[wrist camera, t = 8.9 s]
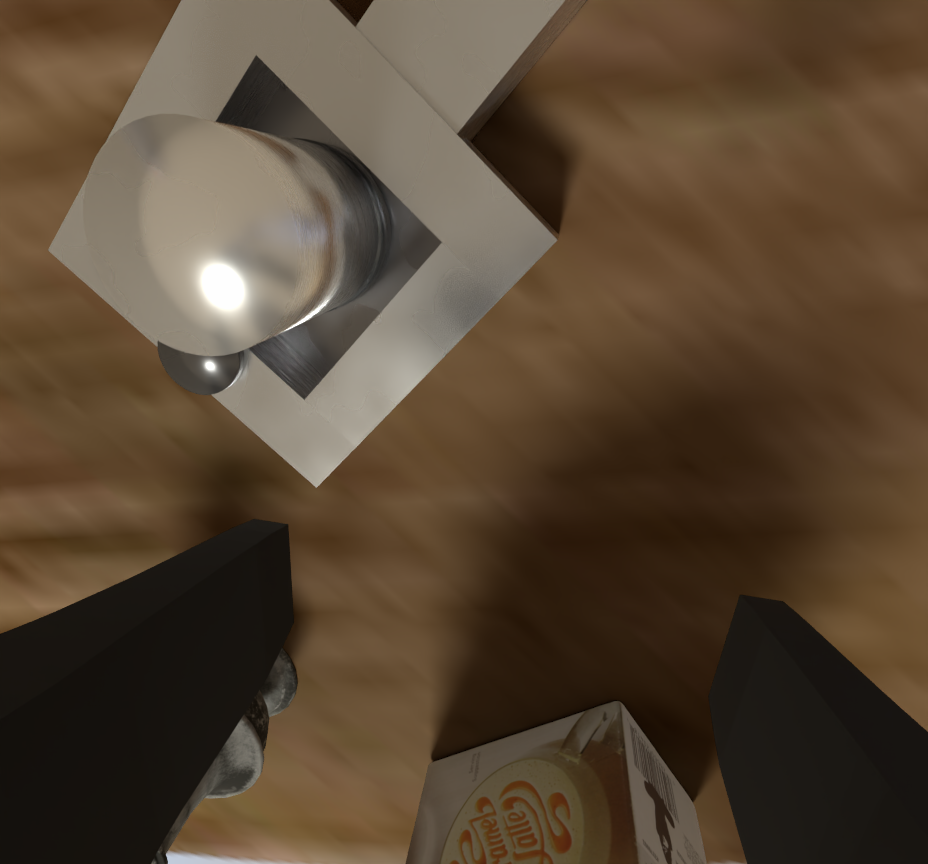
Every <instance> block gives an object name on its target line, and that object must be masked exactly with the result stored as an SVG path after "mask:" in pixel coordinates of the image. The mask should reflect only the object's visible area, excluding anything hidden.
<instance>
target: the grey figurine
mask: <svg viewBox="0 0 928 864" xmlns="http://www.w3.org/2000/svg"><path fill="white" fill-rule="evenodd" d="M296 688H297V677H296V670H295V668H294V666H293V664H292V662H291V659H290V657H289V656H288V655H287V653H286V652H285V651H284V650H283V648H282V649H281V651H280V653H279V655H278V657H277V659H276V661H275V663H274V665H273V667H272V669H271V671H270V673H269V675H268V677H267V679H266V681H265V682H264V684H263V685H262V687H261V689H260V690H259V692H258V693H257V695H256V697H255V698H254V700H253V701H252V703H251V704H250V706H249V708H248V709H247V711H246V712H245V714H244V715H243V717H242V718H241V720H240V722H239V723H238V725H237V726H236V728H235V729H234V731H233V732H232V734H231V735H230V737H229V739H228V740H227V742H226V743H225V745H224V746H223V748H222V749H221V751H220V752H219V754H218V755H217V757H216V759H215V760H214V762H213V763H212V765H211V766H210V768H209V769H208V771H207V772H206V774H205V775H204V777H203V779H202V780H201V782H200V783H199V785H198V786H197V788H196V789H195V791H194V792H193V794H192V796H191V797H190V799H189V800H188V802H187V803H186V805H185V806H184V808H183V809H182V811H181V813H180V814H179V816H178V818H177V819H176V821H175V823H174V824H173V826H172V828H171V829H170V831H169V833H168V834H167V836H166V838H165V839H164V841H163V843H162V844H161V846H160V848H159V850H158V852H157V854H156V856H155V857H154V859H153V861H152V863H151V864H168V861H167V857H166V853H167V851H168V850H169V848H170V846H171V845H172V843H173V841H174V840H175V838H176V837H177V835H178V833H179V832H180V830H181V829H182V827H183V825H184V824H185V822H186V820H187V819H188V817H189V816H190V814H191V813H192V811H193V810H194V809H195V808H196V807H197V806H198V804H199V803H200V802H201V801H202V800H203V799H204V798H227V797H230V796H234V795H237V794H240V793H243V792H244V791H246V790H247V789H248V788H250V787H251V786H253V785H254V783H255V782H256V780H257V779H258V777H259V776H260V774H261V772H262V768H263V762H264V754H263V751H264V749H265V746H266V740H267V733H268V725H269V717H270V716H273V715H276V714H279V713H280V712H281V711H283V710H284V709H285V708H287V707H288V706H289V704H290V703H291V701H292V699H293V698H294V696H295V694H296Z"/></svg>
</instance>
